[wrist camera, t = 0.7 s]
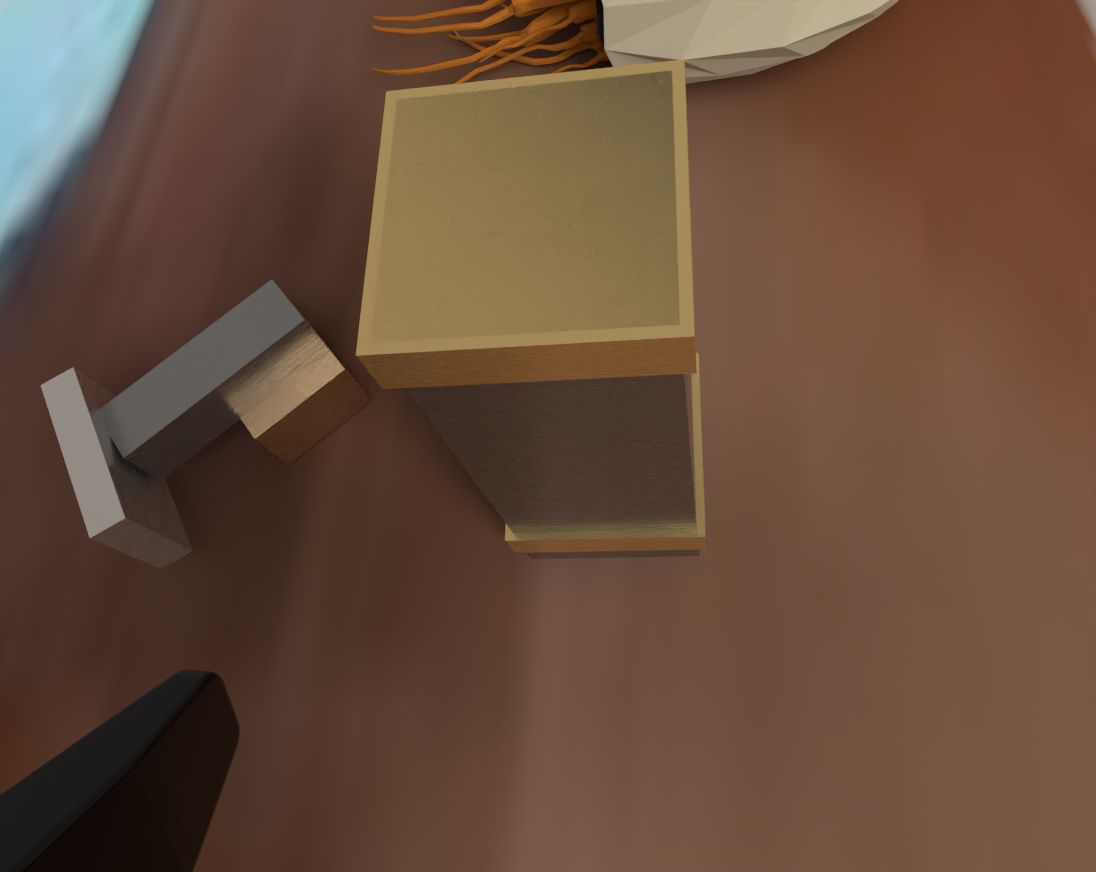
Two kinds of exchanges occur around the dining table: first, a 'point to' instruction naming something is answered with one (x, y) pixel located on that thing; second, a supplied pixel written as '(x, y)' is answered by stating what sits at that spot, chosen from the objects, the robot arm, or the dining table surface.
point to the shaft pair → (196, 418)
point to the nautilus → (659, 32)
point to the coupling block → (547, 300)
